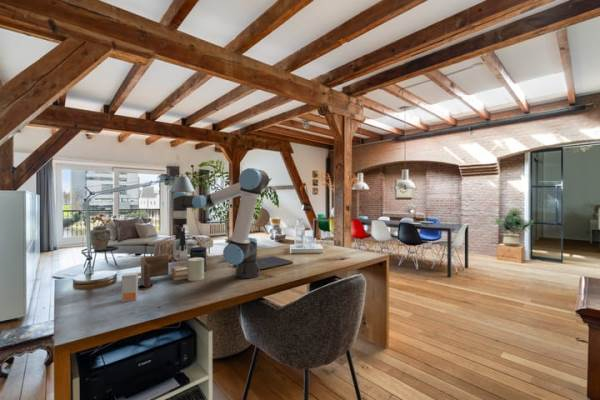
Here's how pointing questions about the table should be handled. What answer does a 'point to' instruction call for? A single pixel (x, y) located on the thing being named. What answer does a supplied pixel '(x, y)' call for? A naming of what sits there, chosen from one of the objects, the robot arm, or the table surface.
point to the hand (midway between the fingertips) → (180, 254)
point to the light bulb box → (176, 250)
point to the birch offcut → (179, 270)
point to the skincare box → (129, 287)
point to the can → (195, 269)
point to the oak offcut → (179, 276)
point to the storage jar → (199, 254)
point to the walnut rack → (153, 268)
